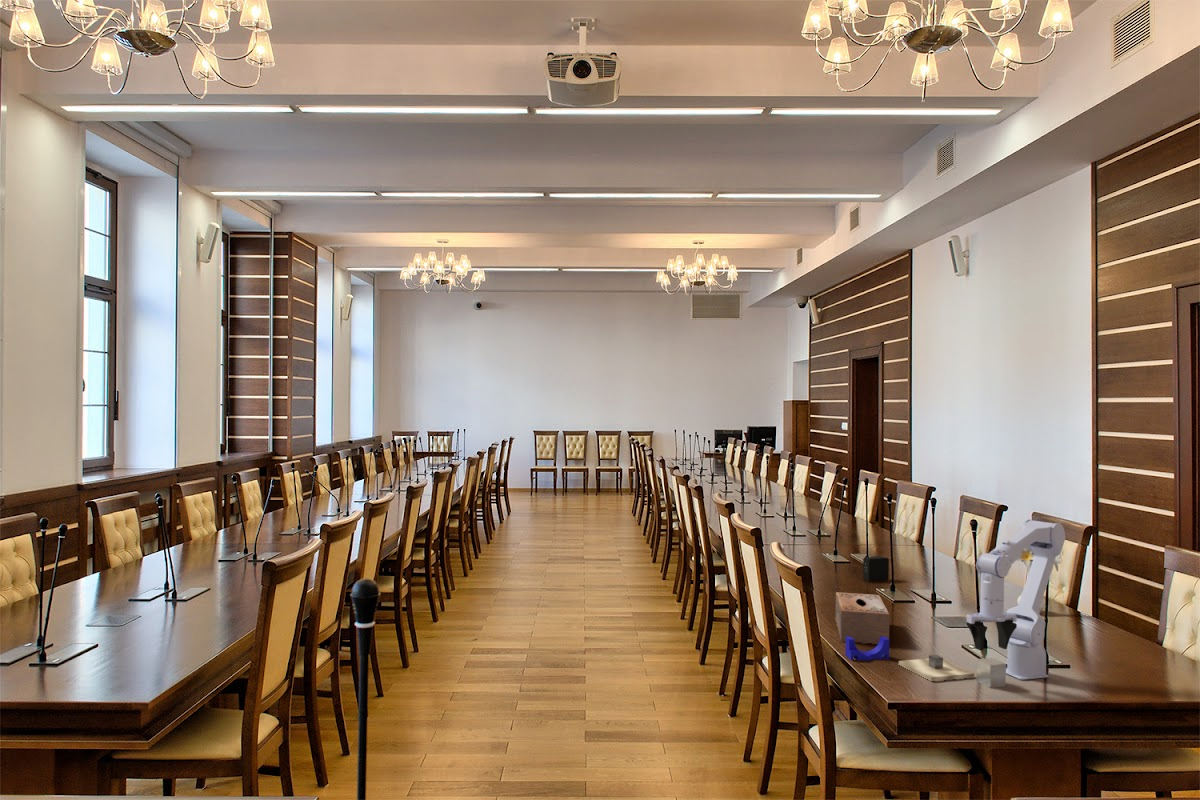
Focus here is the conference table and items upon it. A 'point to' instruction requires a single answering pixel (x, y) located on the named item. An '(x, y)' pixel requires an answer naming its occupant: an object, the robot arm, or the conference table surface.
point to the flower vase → (1028, 559)
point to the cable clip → (876, 653)
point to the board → (936, 670)
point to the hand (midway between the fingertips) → (991, 648)
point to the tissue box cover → (861, 617)
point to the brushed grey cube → (991, 672)
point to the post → (935, 661)
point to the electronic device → (876, 568)
